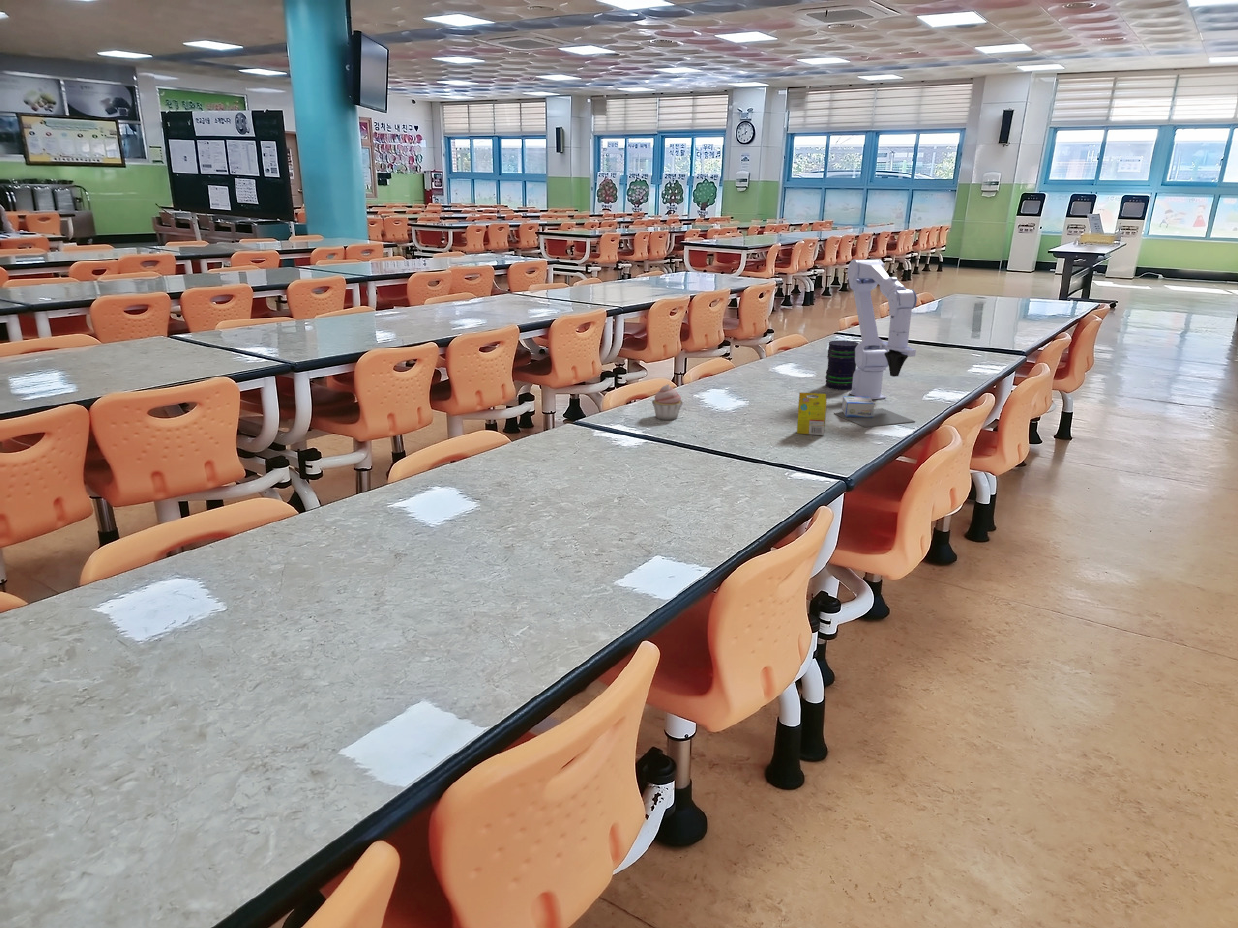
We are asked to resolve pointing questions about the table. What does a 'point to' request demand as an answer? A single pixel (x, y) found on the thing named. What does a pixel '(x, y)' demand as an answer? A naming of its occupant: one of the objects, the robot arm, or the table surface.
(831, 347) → the storage jar
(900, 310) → the robot arm
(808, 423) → the crayon box
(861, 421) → the mat
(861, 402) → the medicine box
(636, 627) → the table surface
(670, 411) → the cupcake
